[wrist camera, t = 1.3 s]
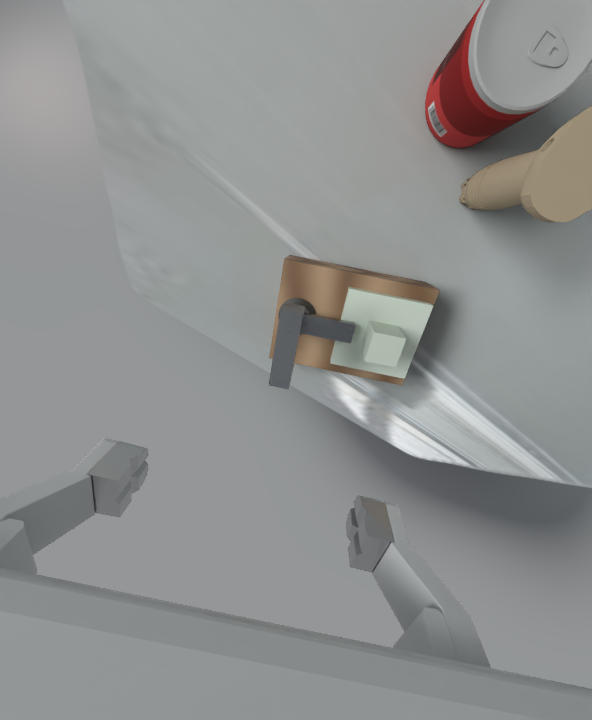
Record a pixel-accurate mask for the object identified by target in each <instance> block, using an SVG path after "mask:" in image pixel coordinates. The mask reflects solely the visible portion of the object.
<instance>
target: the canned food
mask: <svg viewBox="0 0 592 720" xmlns="http://www.w3.org/2000/svg"><path fill="white" fill-rule="evenodd" d="M591 62H592V0H484V1H483V3H482V4H481V6H480V7H479V8H478V10H477V11H476V13H475V14H474V16H473V17H472V19H471V20H470V22H469V23H468V25H467V26H466V28H465V29H464V30H463V32H462V33H461V35H460V36H459V38H458V39H457V41H456V42H455V44H454V45H453V47H452V48H451V50H450V51H449V53H448V54H447V55H446V57H445V58H444V60H443V61H442V63H441V64H440V66H439V67H438V69H437V70H436V72H435V73H434V75H433V78H432V80H431V82H430V84H429V88H428V91H427V95H426V102H425V112H426V120H427V124H428V126H429V129H430V131H431V132H432V134H433V135H434V137H435V138H436V139H437V140H439V141H440V142H442V143H443V144H445V145H448V146H451V147H458V148H464V147H469V146H473V145H475V144H477V143H480V142H482V141H483V140H485V139H487V138H489V137H491V136H493V135H494V134H496V133H498V132H500V131H502V130H504V129H505V128H507V127H509V126H511V125H513V124H515V123H516V122H518V121H520V120H522V119H524V118H526V117H527V116H529V115H531V114H533V113H535V112H536V111H538V110H539V109H541V108H543V107H545V106H546V105H548V104H550V103H551V102H553V101H554V100H556V99H557V98H558V97H560V96H561V95H563V94H564V93H565V92H566V91H567V90H568V89H570V88H571V87H572V86H573V85H574V84H575V83H576V82H577V81H578V80H579V78H580V77H581V76H582V75H583V74H584V73H585V71H586V70H587V68H588V67H589V65H590V64H591Z"/></svg>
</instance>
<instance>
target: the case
mask: <svg viewBox="0 0 592 720" xmlns="http://www.w3.org/2000/svg"><path fill="white" fill-rule="evenodd" d="M349 287H353V288H358V289H363V290H368V291H373V292H378V293H383V294H388V295H393V296H398V297H403V298H408V299H413V300H418V301H423V302H427V303H431V304H432V305H433V306H434V304H435V301H436V299H437V296H438V294H439V291H440V290H438V289H437V288H435V287H433V286H431V285H430V284H428V283H426V282H422V281H417V280H412V279H407V278H402V277H397V276H392V275H387V274H382V273H377V272H372V271H367V270H362V269H357V268H352V267H347V266H342V265H337V264H332V263H327V262H322V261H317V260H312V259H307V258H302V257H297V256H292V255H289V256H288V257H287V258H285V259H284V264H283V271H282V278H281V284H280V291H279V297H278V304H277V310H276V317H275V324H274V330H273V337H272V343H271V350H270V357H269V358H272V359H273V355H274V349H275V342H276V336H277V330H278V323H279V317H280V311H281V308H282V306H283V305H284V303H285V302H287V303H291V304H296V303H298V304H302V305H304V306H305V307H307V309H308V310H309V312H310V314H315V315H320V316H325V317H330V318H335V319H340V320H341V316H342V312H343V308H344V304H345V300H346V296H347V293H348V289H349ZM432 309H433V308H432ZM430 314H431V313H430ZM423 332H424V331H423ZM421 337H422V336H421ZM419 342H420V341H419ZM334 343H335V340H331V339H326V338H321V337H316V336H311V335H306V334H301V333H300V336H299V342H298V347H297V352H296V357H295V362H294V363H296V364H301V365H306V366H311V367H316V368H321V369H326V370H330V371H335V372H340V373H345V374H350V375H355V376H359V377H364V378H369V379H374V380H379V381H384V382H389V383H393V384H398V385H403V382H404V380H405V379H403V378H398V377H393V376H388V375H384V374H379V373H374V372H369V371H364V370H359V369H354V368H350V367H345V366H340V365H335V364H330V359H331V355H332V351H333V347H334ZM417 347H418V346H417ZM415 352H416V351H415ZM413 357H414V356H413ZM406 375H407V374H406Z"/></svg>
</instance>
